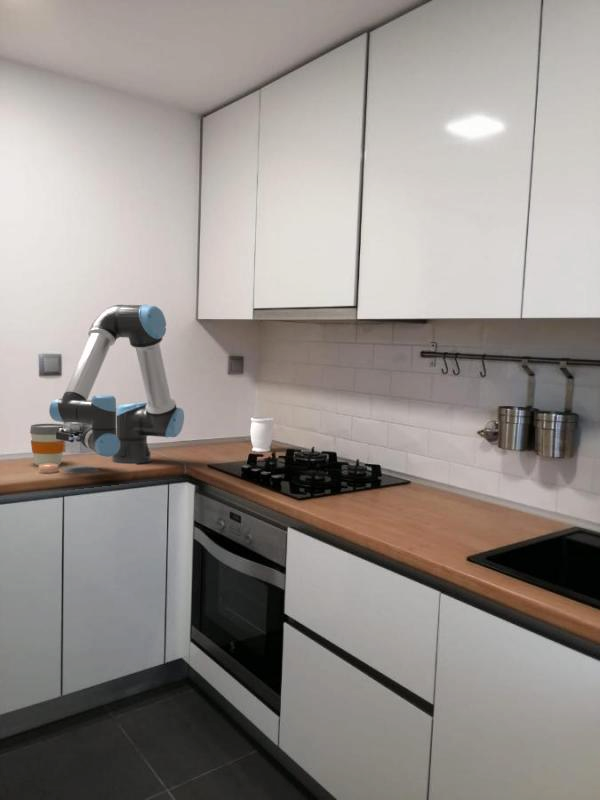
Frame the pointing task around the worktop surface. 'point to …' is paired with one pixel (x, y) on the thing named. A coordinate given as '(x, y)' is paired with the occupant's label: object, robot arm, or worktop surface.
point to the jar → (261, 433)
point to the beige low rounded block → (48, 468)
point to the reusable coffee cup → (46, 443)
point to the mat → (80, 469)
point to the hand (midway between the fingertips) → (77, 431)
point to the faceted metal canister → (75, 446)
